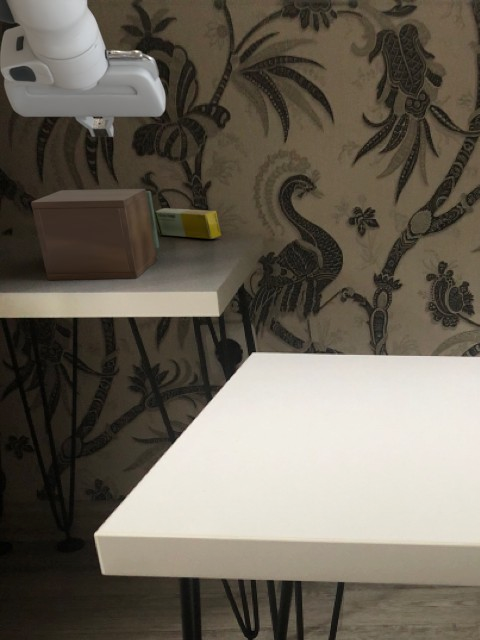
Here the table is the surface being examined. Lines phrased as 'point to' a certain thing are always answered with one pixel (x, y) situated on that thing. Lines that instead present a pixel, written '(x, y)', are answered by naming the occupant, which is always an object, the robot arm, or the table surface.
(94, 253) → the wooden box
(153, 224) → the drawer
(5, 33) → the robot arm
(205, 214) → the medication box
